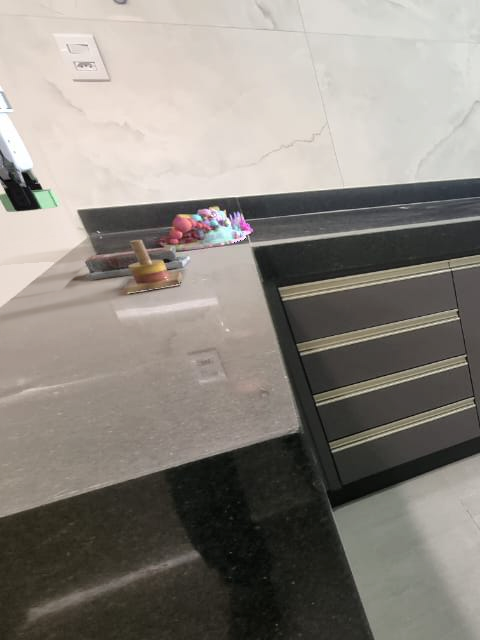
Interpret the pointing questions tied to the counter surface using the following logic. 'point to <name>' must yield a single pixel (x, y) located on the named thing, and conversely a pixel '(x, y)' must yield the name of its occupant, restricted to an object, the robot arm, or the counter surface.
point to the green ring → (42, 196)
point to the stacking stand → (149, 271)
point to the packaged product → (130, 262)
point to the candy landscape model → (205, 230)
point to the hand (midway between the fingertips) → (33, 206)
